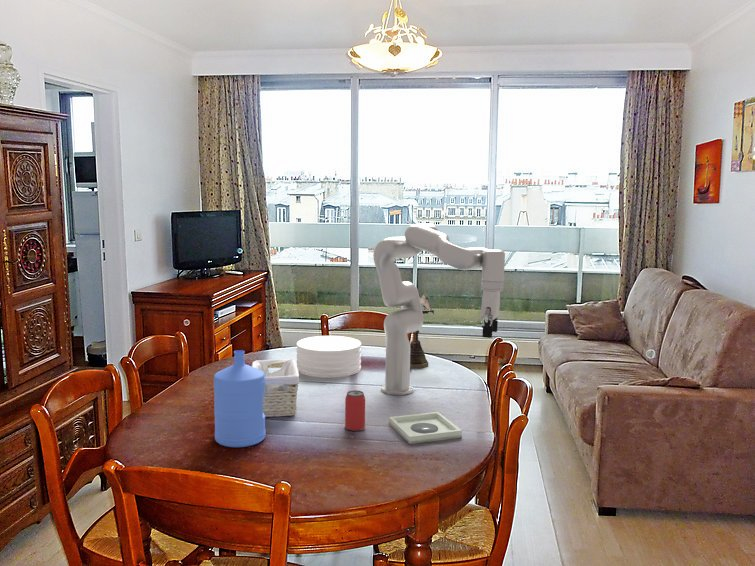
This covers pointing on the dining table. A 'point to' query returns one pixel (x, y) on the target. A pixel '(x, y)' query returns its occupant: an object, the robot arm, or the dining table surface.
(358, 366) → the plate stack
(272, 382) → the storage basket
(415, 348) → the bird statue
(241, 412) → the water jug
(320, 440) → the dining table surface
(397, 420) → the coaster tray
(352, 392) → the beer can
